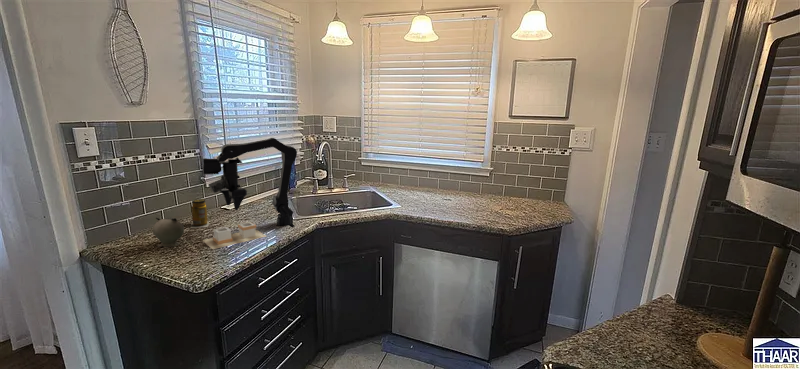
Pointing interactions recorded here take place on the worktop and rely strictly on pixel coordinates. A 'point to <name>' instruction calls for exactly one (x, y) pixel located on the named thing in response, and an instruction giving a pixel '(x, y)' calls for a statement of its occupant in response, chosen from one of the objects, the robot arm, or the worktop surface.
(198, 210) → the condiment
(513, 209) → the worktop surface
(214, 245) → the pin board
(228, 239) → the sleeve
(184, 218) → the worktop surface
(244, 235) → the seated sleeve
